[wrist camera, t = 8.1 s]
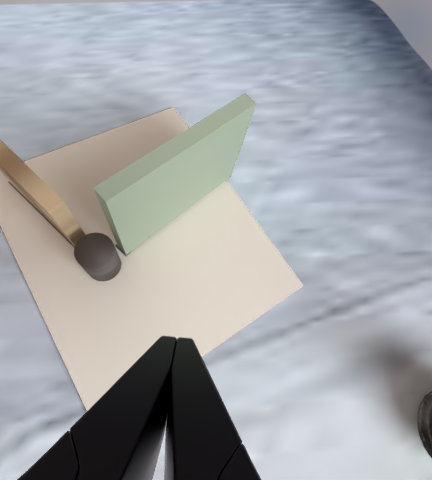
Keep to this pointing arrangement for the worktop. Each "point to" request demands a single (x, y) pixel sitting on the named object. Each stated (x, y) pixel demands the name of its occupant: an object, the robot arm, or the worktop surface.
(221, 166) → the fence panel
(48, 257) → the card
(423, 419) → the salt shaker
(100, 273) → the tan dark-tipped bar
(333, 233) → the worktop surface
